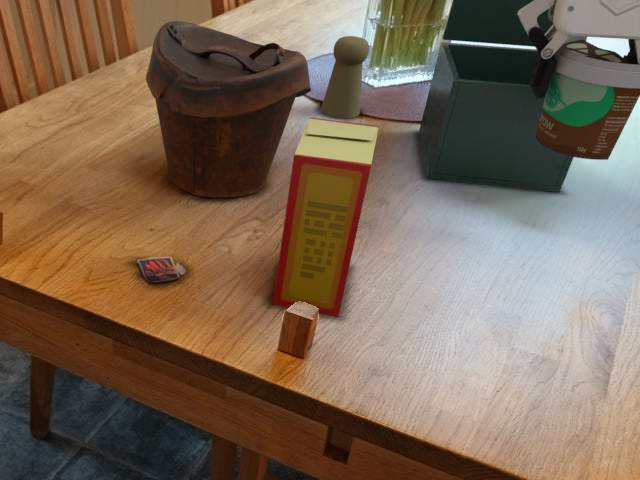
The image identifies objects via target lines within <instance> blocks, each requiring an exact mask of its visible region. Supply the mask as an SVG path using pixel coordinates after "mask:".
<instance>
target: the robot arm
mask: <svg viewBox="0 0 640 480" xmlns="http://www.w3.org/2000/svg"><path fill="white" fill-rule="evenodd" d="M548 9H549V11H548V18H549V20H551V21H552V22H553V25H552V26H551V27H550V29H549V30H548V31H547V32H546V33H545V34H544V33H543V32H542V30H541V29H540V27H539V25H538V22H537V17H538V16H539V15H540V14H542V13H543V12H545V11H546V10H548ZM517 15H518V18H519V20H520V22H521V23H522V25H523V27H524V29H525V31H526V33H527V35H528V37H529V38H530V40H531V41H532V43H533V44H534V46H535V47H534V48H535V49H537V50H538V55H537V59H536V62H535V65H534V68H533V71H532V74H531V77H530V81H529V86H530V87H532V91H533V93H534V95H535V97H536V98H538V99H542V98H544V97H545V95H546V92H547V89H548V86H549V83H550V80H551V77H552V74H553V71H554V68H555V66H556V59H555V58H554V56H555V53H556V51H557V50H558V49H559V48H560V47H561V46H562V45H563V43H564V42H565V41H566V40H567V39H568V38H569V37H570V36H583V37H587V38H600V39H601V38H602V39H603V38H604V39H622V40H627V42H628V48H629V51H628V52H627V54H624V55H623V56H622V57H623V58H624V59H625V60H626V61H627V62H628V63H629V64H635V65H640V0H534V1H532V2H530V3H529V4H527V5H526V6H524V7H523V8H521V9H520V10H519V11H518V14H517Z"/></svg>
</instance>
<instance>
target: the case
mask: <svg viewBox="0 0 640 480" xmlns="http://www.w3.org/2000/svg"><path fill="white" fill-rule="evenodd" d="M308 65H309V64H308V61H307V58H306V56H305V55H304V54H303V53H302V52H300V51H298V50H291V49H286V48H284V47H282V46H281V45H279V44H278V43H276V42H269V43H267V44H260V43H256V42H252V41H249V40H246V39H243V38H241V37H238V36H235V35H233V34H230V33H226V32H223V31H220V30H216V29H213V28H209V27H206V26H202V25H199V24H195V23H193V22H188V21H180V20H173V21H168V22H165V23H164V24H162V26H161V27H160V28H159V29H158V31H157V33H156V34H155V37H154V39H153V43H152V50H151V54H150V59H149V64H148V68H147V71H146V74H145V82H146V84H147V87H148V89H149V91H150V93H151V96H152V97H153V99H155V104H156V111H157V115H158V121H159V127H160V134H161V139H162V144H163V149H164V155H165V156H164V157H165V160H166V167H167V172H168V177H169V179H170V180H171V181H172V182H173V183H174V184H175V185H176V186H177V187H178V188H180V189H182V190H184V191H186V192H188V193H190V194H193V195H194V196H199V197H202V198H210V199H211V198H214V199H228V198H239V197H245V196H249V195H252V194H254V193H257V192H259V191H260V190H262V189H263V188H264V186H265V185H266V183H267V178H268V175H269V174H270V173H269V172H270V169H271V166H272V165H273V161H274V159H275V156H276V154H277V150H278V147H279V145H280V142H281V139H282V137H283V134H284V132H285V128H286V126H287V123H288V120H289V117H290V114H291V111H292V108H293V106H294V103H295V100H296V98H300V97H303V96H306V95H307V94H308V93H310V92H311V91H312V87H311V81H310V73H309V66H308Z"/></svg>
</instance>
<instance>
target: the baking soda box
mask: <svg viewBox="0 0 640 480" xmlns="http://www.w3.org/2000/svg"><path fill="white" fill-rule="evenodd" d="M379 128H380V126H379V125H376V124H375V125H374V124H367V123H366V124H365V123H358V122H352V121H351V122H350V121H344V120H343V121H341V120H336V119H335V120H334V119H327V118H319V117H311V116H310V117H308V120H307V123H306V125H305V128H304V130H303V133H302V135H301V137H300V140H299V142H298V144H297V146H296V150H295V152H294V154H293V160H292V166H291V173H290V179H289V181H290V182H289V187H288V188H289V189H288V194H287V201H286V208H285V215H284V223H283V230H282V235H281V236H282V237H281V244H280V251H279V258H278V264H277V273H276V278H275V285H274V292H273V300H272V305H273V306H280V307H283V308H289V307H290V306H291V305H293V304H294V303H295V302H298V301H301V302H306V303H308V304H311V305H313V306H316V307H317V308H319V313H318V314H321V315H326V316H327V315H328V316H333V317H338V318H339V316H340V312H341V306H342V302H343V298H344V293H345V288H346V283H347V278H348V274H349V269H350V266H351V261H352V256H353V251H354V247H355V243H356V238H357V237H356V236H357V232H358V228H359V224H360V219H361V215H362V210H363V205H364V201H365V196H366V191H367V186H368V182H369V177H370V172H371V168H372V163H373V158H374V153H375V149H376V144H377V138H378V133H379V130H380V129H379Z"/></svg>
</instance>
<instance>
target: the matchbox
mask: <svg viewBox="0 0 640 480" xmlns="http://www.w3.org/2000/svg"><path fill="white" fill-rule="evenodd" d="M133 263H134V264H138V266H139V268H140V270H141V275H143V277H144V278H145V279H146V281H147V282H149V283H159V282H169V281H173V280H176V279H180V276H183V275H184V274H186V273H187V272H186V271H187V269H186V268H185V267H184V266H183V265H181V264H180V263H179V262H176V263H175V261H174V260H173V257H172V256H171V255H170V256H159V257H153V256H150V257H148V258H144V259H143V258H141V259H137V261H134V262H133ZM163 284H165V283H163Z"/></svg>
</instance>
